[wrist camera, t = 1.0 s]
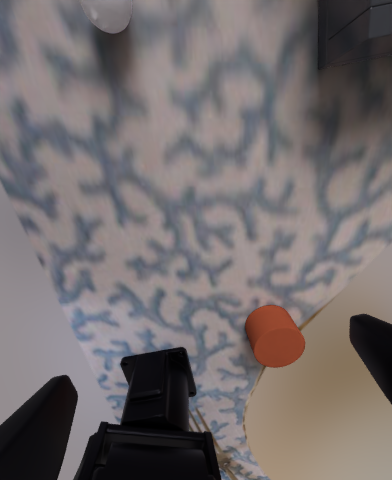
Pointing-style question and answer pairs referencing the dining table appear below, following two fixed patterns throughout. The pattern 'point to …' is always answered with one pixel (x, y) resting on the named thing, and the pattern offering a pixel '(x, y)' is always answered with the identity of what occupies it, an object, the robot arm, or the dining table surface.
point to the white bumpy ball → (108, 14)
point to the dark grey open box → (353, 31)
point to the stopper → (274, 336)
